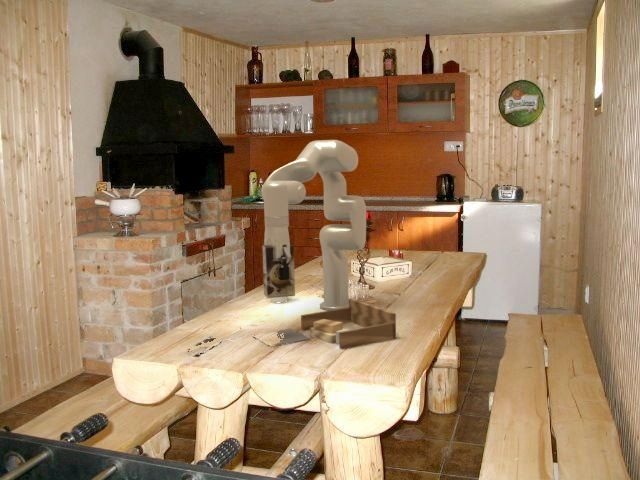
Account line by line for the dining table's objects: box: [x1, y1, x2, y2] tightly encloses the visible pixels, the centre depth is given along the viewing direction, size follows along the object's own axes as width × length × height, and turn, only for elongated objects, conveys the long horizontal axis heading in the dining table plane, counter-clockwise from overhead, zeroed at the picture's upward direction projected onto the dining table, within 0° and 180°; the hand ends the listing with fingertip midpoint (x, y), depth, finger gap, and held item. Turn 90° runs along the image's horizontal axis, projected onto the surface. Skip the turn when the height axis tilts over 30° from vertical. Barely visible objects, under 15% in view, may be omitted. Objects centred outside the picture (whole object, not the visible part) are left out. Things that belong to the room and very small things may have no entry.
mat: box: [253, 328, 311, 346], centre depth 209 cm, size 14×14×1 cm
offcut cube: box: [335, 328, 349, 345], centre depth 201 cm, size 4×4×4 cm
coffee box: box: [262, 244, 296, 299], centre depth 206 cm, size 9×6×16 cm
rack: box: [300, 298, 397, 350], centre depth 211 cm, size 26×20×8 cm
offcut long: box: [309, 327, 336, 344], centre depth 208 cm, size 12×6×3 cm, turn 36°
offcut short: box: [313, 319, 344, 333], centre depth 208 cm, size 8×5×2 cm, turn 50°
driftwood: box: [187, 335, 216, 356], centre depth 202 cm, size 21×7×2 cm, turn 160°
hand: (278, 277), depth 206 cm, fingers closed on coffee box, 7 cm apart
